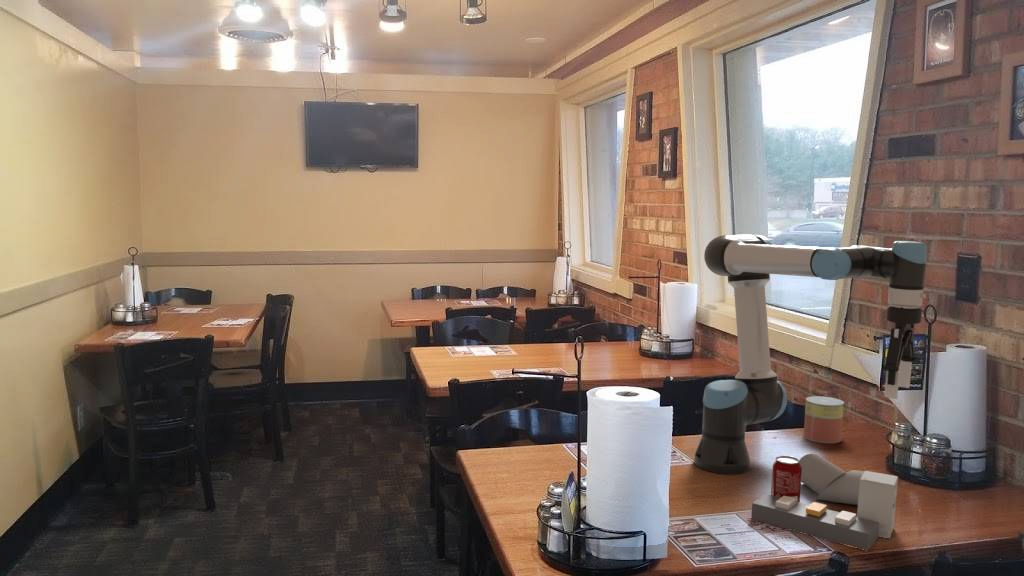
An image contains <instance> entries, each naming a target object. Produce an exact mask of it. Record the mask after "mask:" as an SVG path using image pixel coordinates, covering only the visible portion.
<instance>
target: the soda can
mask: <svg viewBox="0 0 1024 576" xmlns="http://www.w3.org/2000/svg"><path fill="white" fill-rule="evenodd" d="M799 460H800V459H799V458H797V457H795V456H791V455H778V456H776V457H775V461H774V462H772V470H771V487H770V488H771V489H770V490H771V491H770V495H774V496H778V497H783V496H788V497H792V498H795V499H796V501H797V502H801V489H802V482H801V474H802V467H801V465H800V464H799V462H800V461H799Z"/></svg>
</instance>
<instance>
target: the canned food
mask: <svg viewBox="0 0 1024 576" xmlns="http://www.w3.org/2000/svg"><path fill="white" fill-rule="evenodd" d="M844 406H845V402H844V401H843V400H842V399H839V398H835V397H831V396H822V395H812V396H808V397H806V398H805V408H804V409H805V410H804V426H803V434H802V435H803V438H804V439H806V440H808V441H810V442H811V441H812V442H816V443H820V444H821V443H822V444H837V443H840V441H841V442H842V441H843V440H842V439H843V438H842V437H843V436H842V435H843V434H842V433H843V421H844Z"/></svg>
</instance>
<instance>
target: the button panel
mask: <svg viewBox="0 0 1024 576" xmlns="http://www.w3.org/2000/svg"><path fill="white" fill-rule="evenodd" d="M809 505H810V504H808V503H804V502H801V501H800V502H797V501H796V499H795V498H792V497H788V496H783V497H778V496H774V495H771V493H764V494H762V495H761V496H759V498H757V499H756V500H753V502H751V518H750V519H751V520H752V519H753V521H756V520H757V522H759V521H760V523H763V522H764V523H763V524H767V523H768V524H767V525H770V524H771V526H774V525H775V526H774V527H777V526H779V527H778V528H781V527H783V528H782V529H784V528H787V529H786V530H788V529H791V530H790V531H792V530H795V531H798V532H797V533H799V532H802V533H806V534H809V535H812V536H811V537H813V536H815V537H814V538H816V537H818V538H817V539H820V538H822V539H821V540H824V539H826V540H825V541H827V540H829V541H828V542H831V541H833V542H832V543H834V542H837V543H836V544H838V543H842V544H846V545H850V546H853V547H857V548H860V549H864V550H868V549H869V548H870V547H871V546H872V545H873V544H874V545H875V543H876V542H877V541H878V540H879V537H878V531H879V522H875V521H871V520H867V519H863V518H859V517H857V513H854V512H850V511H845V510H841V511H840V512H839V511H835V510H831V509H828V508H827V510H826V511H825V512H824V513H823V514H822V515H820V516H819V517H818V516H814V515H810V514H807V513H806V508H807V507H808V506H809ZM795 531H794V532H795ZM802 533H801V534H802ZM806 534H805V535H806ZM809 535H808V536H809ZM877 539H878V540H877ZM876 540H877V541H876ZM875 541H876V542H875ZM874 542H875V543H874ZM874 545H873V546H874ZM873 546H872V547H873ZM872 547H871V548H872ZM871 548H870V549H871ZM870 549H869V550H870ZM869 550H868V551H869Z"/></svg>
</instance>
